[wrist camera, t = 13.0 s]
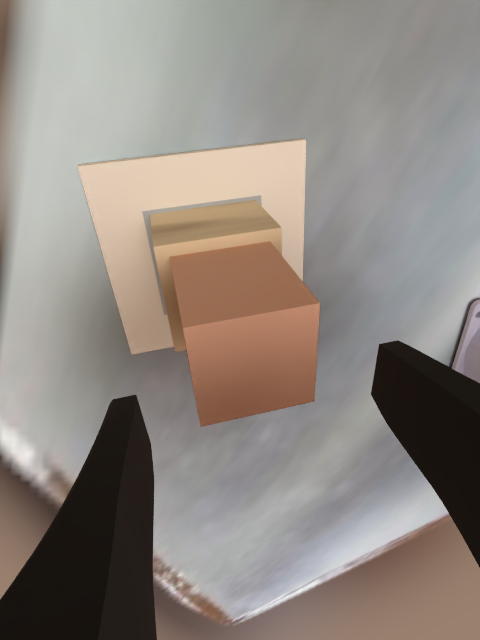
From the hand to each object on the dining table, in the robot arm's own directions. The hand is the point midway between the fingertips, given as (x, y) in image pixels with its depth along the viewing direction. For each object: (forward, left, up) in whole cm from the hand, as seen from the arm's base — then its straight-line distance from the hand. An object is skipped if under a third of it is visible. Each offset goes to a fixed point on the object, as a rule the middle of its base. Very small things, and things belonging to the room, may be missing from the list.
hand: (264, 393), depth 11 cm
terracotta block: (0, 0, -6) cm, 6 cm away
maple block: (0, 0, -10) cm, 10 cm away
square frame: (0, 0, -10) cm, 10 cm away
